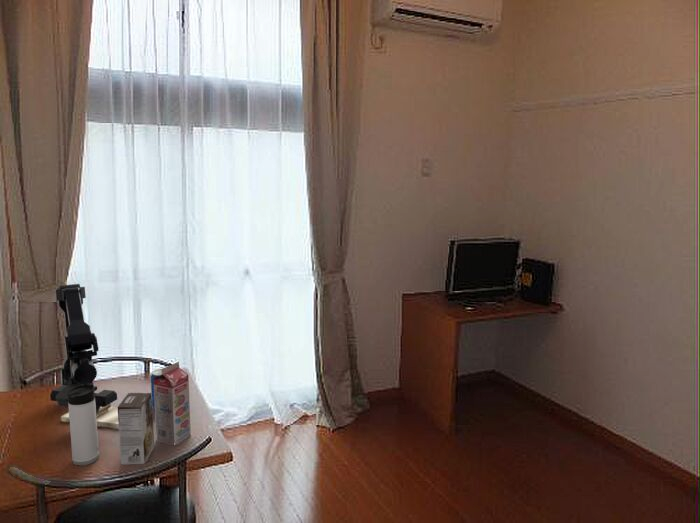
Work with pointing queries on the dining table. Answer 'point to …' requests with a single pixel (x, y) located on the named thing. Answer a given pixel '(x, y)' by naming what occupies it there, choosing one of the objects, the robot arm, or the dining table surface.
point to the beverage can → (154, 374)
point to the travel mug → (83, 424)
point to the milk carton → (172, 405)
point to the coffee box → (136, 428)
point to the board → (102, 418)
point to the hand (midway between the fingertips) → (85, 422)
